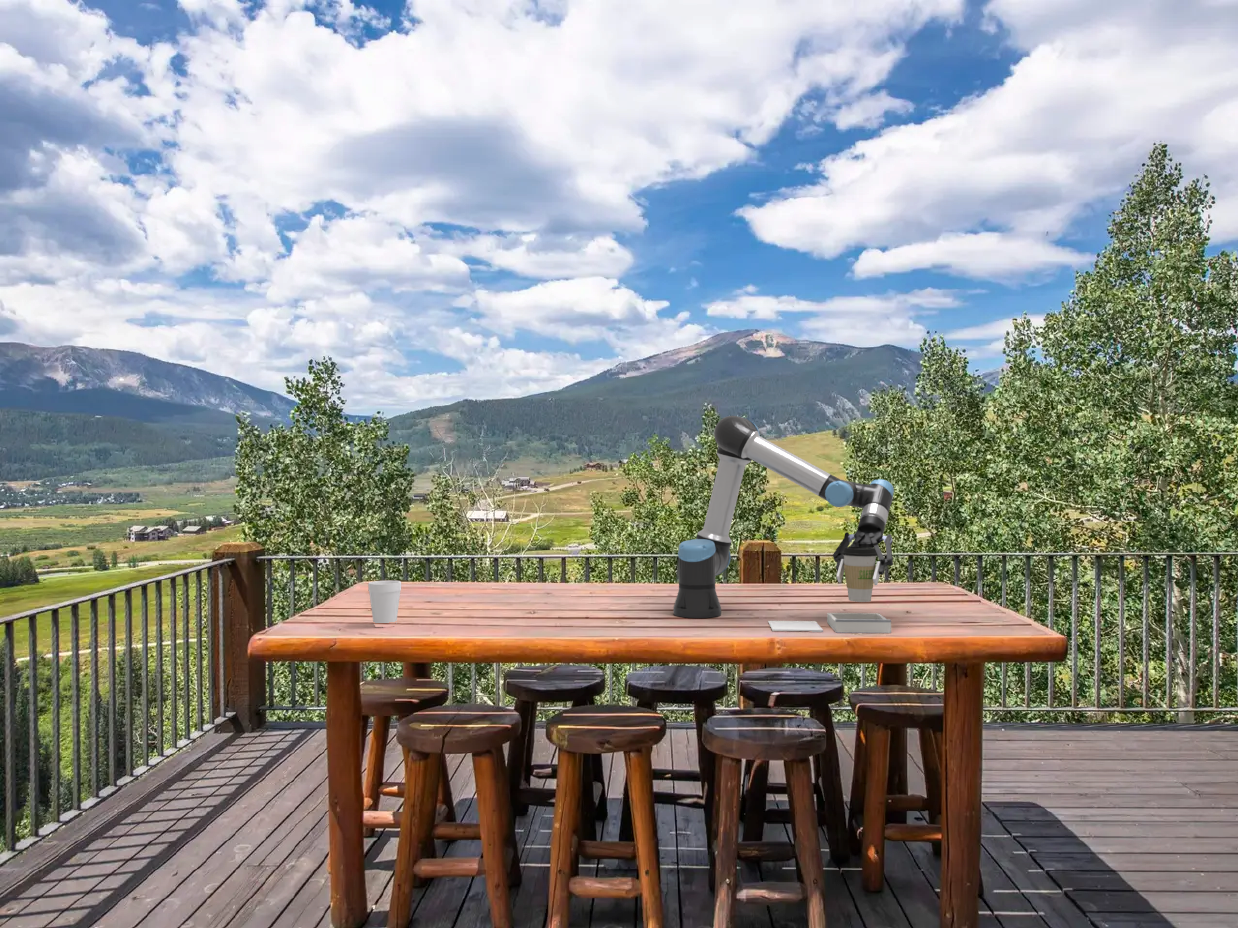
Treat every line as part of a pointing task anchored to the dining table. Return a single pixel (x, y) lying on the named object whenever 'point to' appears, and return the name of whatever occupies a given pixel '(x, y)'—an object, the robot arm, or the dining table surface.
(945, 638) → the dining table surface
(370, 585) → the foam cup
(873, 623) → the cup holder
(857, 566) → the coffee cup
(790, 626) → the rubber mat
